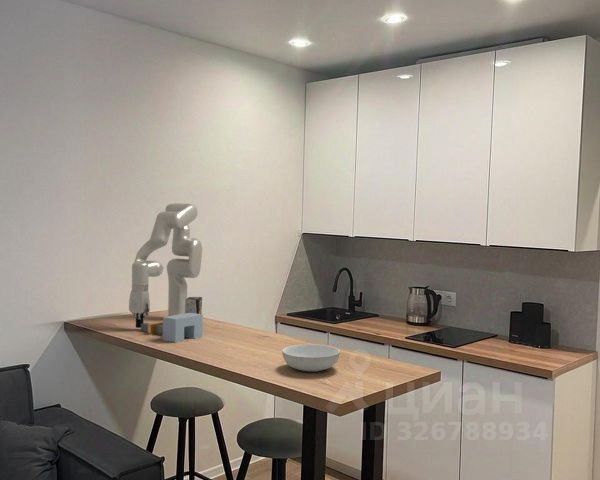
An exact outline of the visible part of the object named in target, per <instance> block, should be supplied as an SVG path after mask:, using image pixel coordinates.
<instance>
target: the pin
mask: <svg viewBox="0 0 600 480" xmlns="http://www.w3.org/2000/svg"><path fill="white" fill-rule="evenodd" d="M140 332H143V333H147V334H148V335H151V334H152V335H157V334H158V336H161V335H162V336H161V337H163V321H158V322H152V323H149V322H143V323H141V328H140Z"/></svg>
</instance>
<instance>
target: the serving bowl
mask: <svg viewBox="0 0 600 480" xmlns="http://www.w3.org/2000/svg"><path fill="white" fill-rule="evenodd" d="M281 352H282V353H281V354H282V358H283V360H284V362H285V363H286V365H288V366H289V367H291V368H293V369H295V370H297V371H302V372H306V371H307V373H308V372H309V373H313V372H316V373H317V372H321V371H324V370H327V369H330V368H332V367H334V366H335V365H336V364H337V363H338V360H339V357H340V355H341V354H340V353H341V351H340V349H339V348H337V347H335V346H331V345H327V344H318V343H316V344H315V343H304V344H294V345H289V346H286V347H284V348H283V349H282V350H281Z"/></svg>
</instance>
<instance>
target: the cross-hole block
mask: <svg viewBox="0 0 600 480" xmlns="http://www.w3.org/2000/svg"><path fill="white" fill-rule="evenodd" d="M203 318H204V317H203V314H202V315H201V314H195V313H185V314H179V315H173V316H168V315H167V316H163V317H162V322H163V336H162V341H167V342H172V343H175V344H176V343H180V342H184V341H185V337H186V338H188V339H189V338H190V339H193V340H194V339H198V338H203V323H204V322H203Z"/></svg>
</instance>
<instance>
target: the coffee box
mask: <svg viewBox="0 0 600 480" xmlns="http://www.w3.org/2000/svg"><path fill="white" fill-rule="evenodd" d="M202 310H203V297H202V296H189V297H187V299H185V313H195V314H201V315H203V312H202Z"/></svg>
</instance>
